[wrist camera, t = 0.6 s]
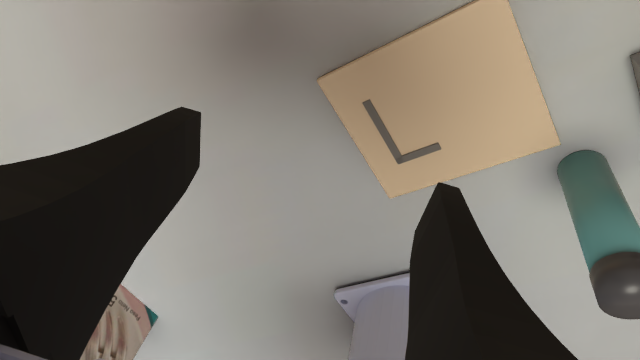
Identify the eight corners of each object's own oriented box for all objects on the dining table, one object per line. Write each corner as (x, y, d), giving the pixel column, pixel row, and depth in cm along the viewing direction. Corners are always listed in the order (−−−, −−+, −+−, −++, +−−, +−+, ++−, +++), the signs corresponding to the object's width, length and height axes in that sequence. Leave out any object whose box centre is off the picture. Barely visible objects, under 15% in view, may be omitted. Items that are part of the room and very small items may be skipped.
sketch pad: (559, 141, 22) (561, 145, 21) (390, 195, 26) (389, 199, 25) (502, -14, 18) (503, -11, 18) (317, 78, 22) (316, 81, 22)
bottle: (614, 179, 22) (679, 313, 16) (563, 192, 23) (605, 323, 17) (602, 143, 21) (666, 271, 15) (550, 158, 22) (590, 284, 16)
